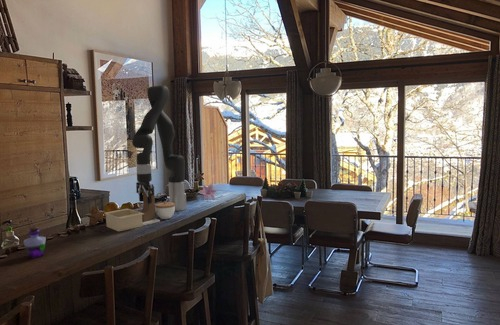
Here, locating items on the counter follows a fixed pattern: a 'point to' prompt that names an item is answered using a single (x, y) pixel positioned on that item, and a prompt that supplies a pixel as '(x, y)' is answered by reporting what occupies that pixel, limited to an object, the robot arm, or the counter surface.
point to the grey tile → (151, 221)
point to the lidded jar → (165, 209)
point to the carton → (123, 219)
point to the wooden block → (148, 208)
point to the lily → (208, 191)
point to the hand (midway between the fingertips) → (145, 202)
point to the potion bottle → (35, 243)
